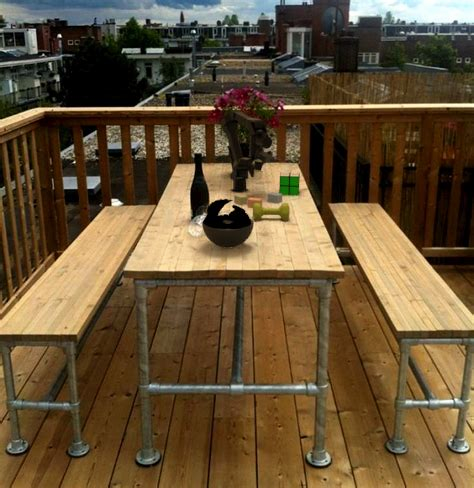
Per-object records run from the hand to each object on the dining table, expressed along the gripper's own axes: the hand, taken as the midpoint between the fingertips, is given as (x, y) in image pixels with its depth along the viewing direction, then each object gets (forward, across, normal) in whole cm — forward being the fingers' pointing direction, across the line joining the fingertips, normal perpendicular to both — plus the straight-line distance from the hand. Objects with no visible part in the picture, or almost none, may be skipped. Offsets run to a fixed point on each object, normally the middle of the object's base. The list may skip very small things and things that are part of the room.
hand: (255, 176), depth 315 cm
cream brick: (+1, 0, 0) cm, 1 cm away
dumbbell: (+11, -24, -30) cm, 40 cm away
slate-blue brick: (+11, 0, -13) cm, 17 cm away
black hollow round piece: (+11, -64, -41) cm, 77 cm away
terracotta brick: (+11, -14, -12) cm, 21 cm away
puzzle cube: (+11, +18, -8) cm, 22 cm away
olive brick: (+11, -14, -3) cm, 18 cm away
